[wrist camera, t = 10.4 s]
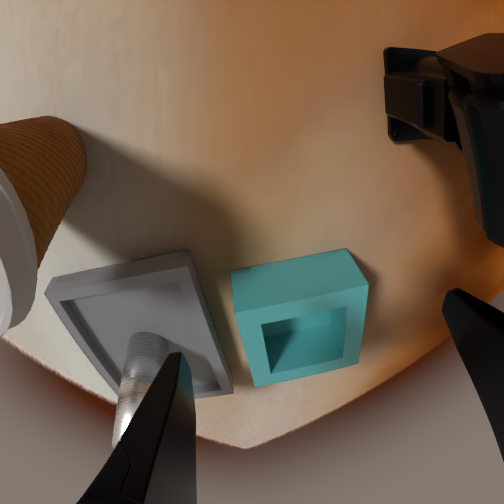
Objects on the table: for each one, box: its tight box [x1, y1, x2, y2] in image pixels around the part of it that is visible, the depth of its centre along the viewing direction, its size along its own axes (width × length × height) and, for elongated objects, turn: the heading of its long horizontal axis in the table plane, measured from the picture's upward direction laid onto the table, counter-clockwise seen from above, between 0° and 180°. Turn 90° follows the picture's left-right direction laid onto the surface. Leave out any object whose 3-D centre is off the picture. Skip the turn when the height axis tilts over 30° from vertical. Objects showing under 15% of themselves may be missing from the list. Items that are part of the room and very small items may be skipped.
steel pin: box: [112, 332, 169, 448], centre depth 22 cm, size 4×4×10 cm
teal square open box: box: [230, 248, 369, 387], centre depth 25 cm, size 9×9×4 cm
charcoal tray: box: [44, 250, 234, 399], centre depth 26 cm, size 12×16×2 cm
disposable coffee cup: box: [0, 116, 87, 337], centre depth 12 cm, size 10×10×12 cm
